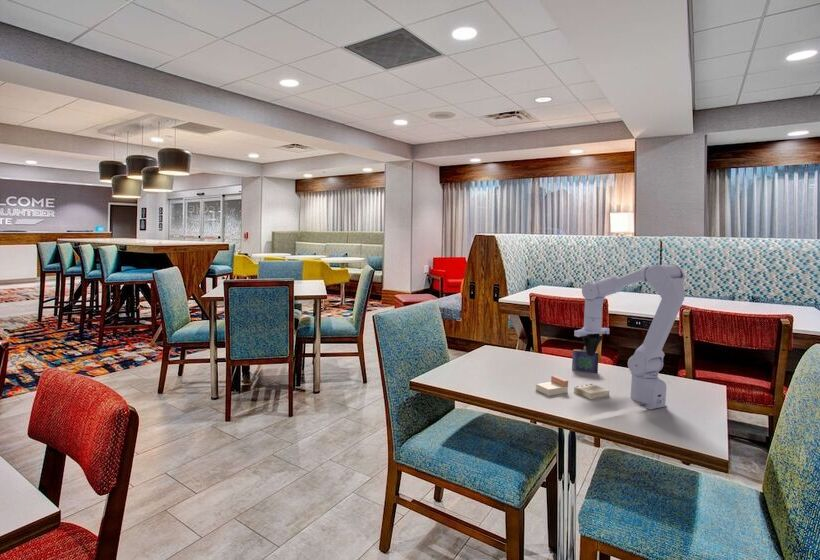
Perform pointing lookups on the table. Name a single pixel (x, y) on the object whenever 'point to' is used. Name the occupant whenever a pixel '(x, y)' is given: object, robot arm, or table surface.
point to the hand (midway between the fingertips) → (590, 355)
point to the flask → (584, 361)
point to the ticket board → (591, 391)
